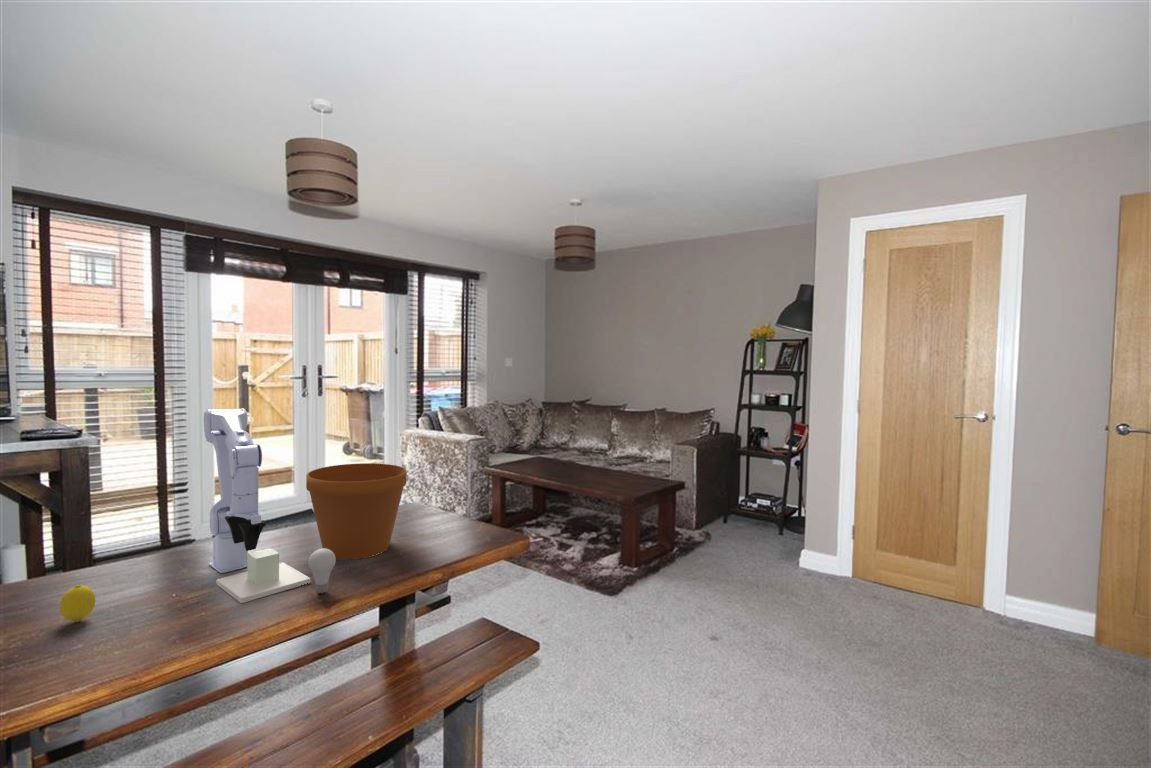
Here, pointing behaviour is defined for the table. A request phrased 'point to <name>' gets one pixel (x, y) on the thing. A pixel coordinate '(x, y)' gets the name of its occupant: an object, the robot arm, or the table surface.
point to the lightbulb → (321, 567)
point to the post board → (249, 591)
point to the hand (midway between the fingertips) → (244, 546)
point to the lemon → (77, 603)
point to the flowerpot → (356, 506)
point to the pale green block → (262, 566)
